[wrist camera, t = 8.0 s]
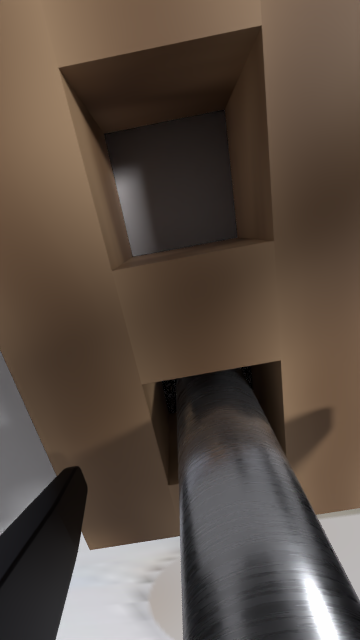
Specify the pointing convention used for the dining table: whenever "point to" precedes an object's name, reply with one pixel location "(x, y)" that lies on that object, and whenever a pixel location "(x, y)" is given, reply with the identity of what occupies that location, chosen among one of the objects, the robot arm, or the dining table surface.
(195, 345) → the peg board
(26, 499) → the dining table surface
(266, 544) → the peg
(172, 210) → the dining table surface
